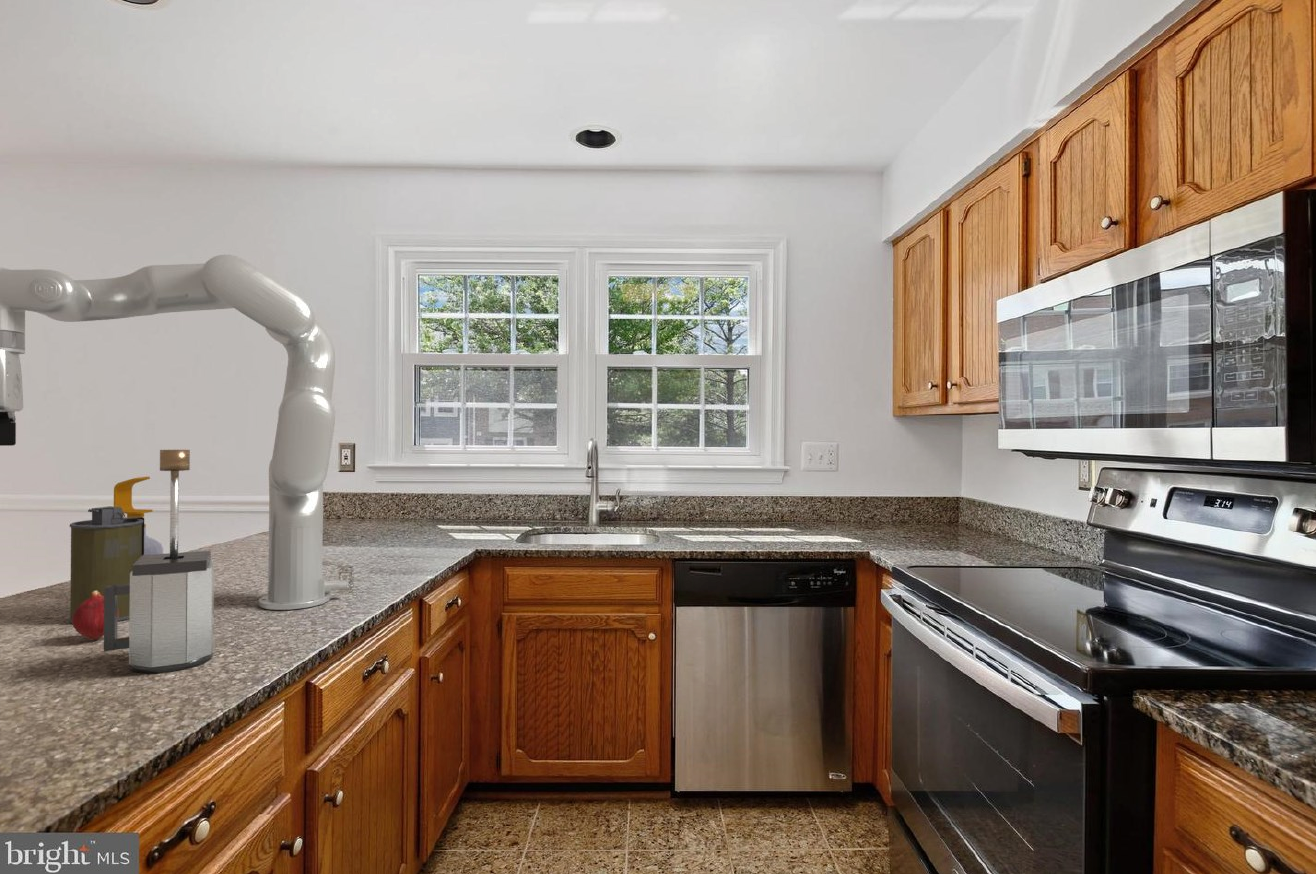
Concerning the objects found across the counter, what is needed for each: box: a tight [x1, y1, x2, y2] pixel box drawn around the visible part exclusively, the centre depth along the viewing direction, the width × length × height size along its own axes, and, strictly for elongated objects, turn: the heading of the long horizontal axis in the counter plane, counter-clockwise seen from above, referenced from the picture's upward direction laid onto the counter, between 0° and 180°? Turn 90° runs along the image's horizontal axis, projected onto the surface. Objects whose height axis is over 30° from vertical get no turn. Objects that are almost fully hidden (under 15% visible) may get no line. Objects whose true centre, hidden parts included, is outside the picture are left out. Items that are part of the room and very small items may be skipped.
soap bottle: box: [113, 476, 164, 555], centre depth 136 cm, size 9×9×25 cm
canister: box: [68, 506, 145, 624], centre depth 122 cm, size 11×10×20 cm
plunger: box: [159, 449, 191, 559], centre depth 100 cm, size 7×7×20 cm
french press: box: [103, 550, 215, 675], centre depth 99 cm, size 13×10×16 cm
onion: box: [71, 591, 119, 641], centre depth 109 cm, size 6×6×8 cm
